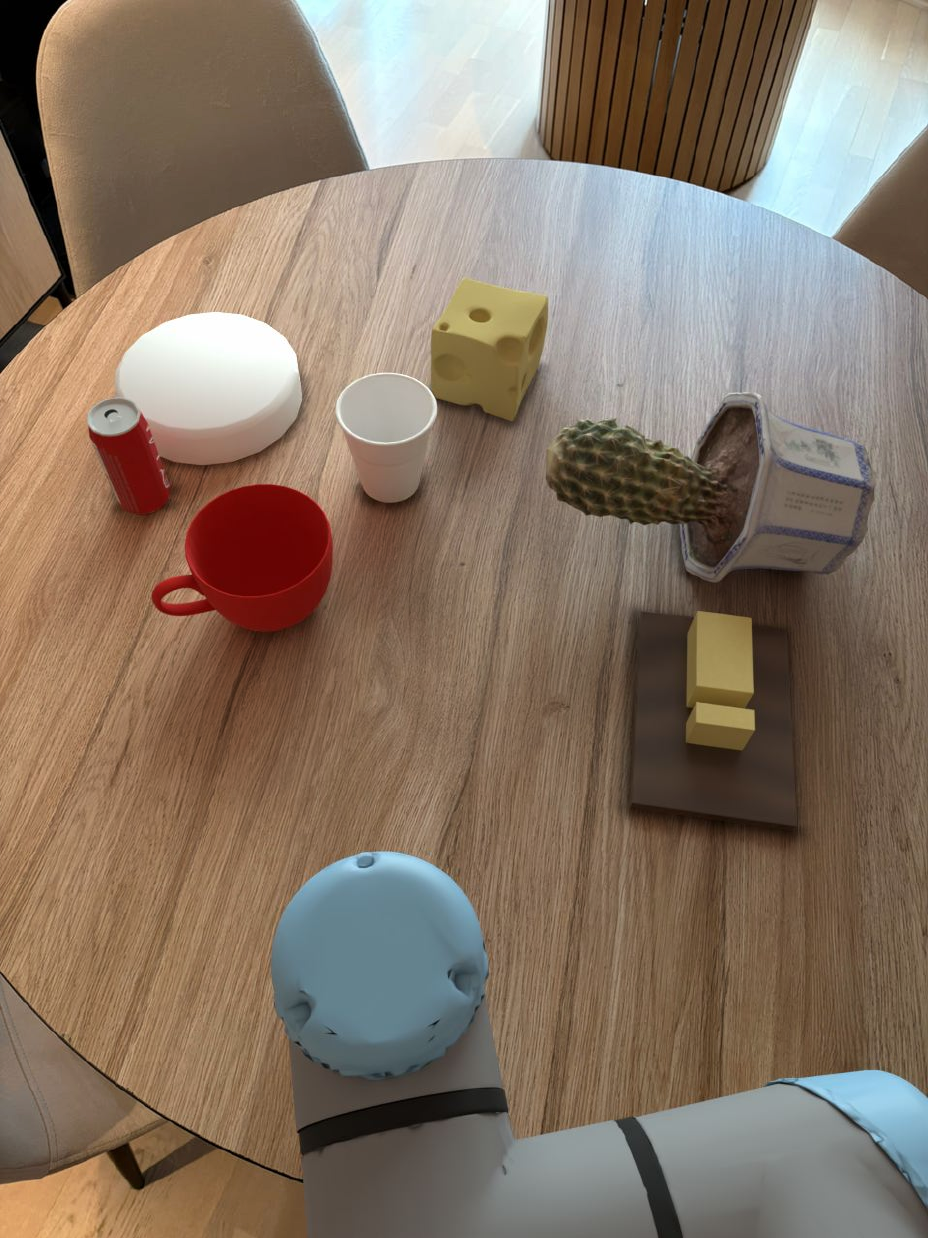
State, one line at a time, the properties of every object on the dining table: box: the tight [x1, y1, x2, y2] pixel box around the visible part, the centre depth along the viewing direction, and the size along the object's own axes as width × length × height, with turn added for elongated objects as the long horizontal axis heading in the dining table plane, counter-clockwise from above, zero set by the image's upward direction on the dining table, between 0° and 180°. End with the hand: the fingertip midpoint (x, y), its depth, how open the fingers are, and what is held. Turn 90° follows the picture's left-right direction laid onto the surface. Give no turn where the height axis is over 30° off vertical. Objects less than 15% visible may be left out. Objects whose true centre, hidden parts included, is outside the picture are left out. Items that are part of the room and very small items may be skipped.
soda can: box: [86, 396, 172, 515], centre depth 95 cm, size 6×6×12 cm
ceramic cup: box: [151, 483, 334, 632], centre depth 88 cm, size 13×17×10 cm
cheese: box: [430, 276, 549, 422], centre depth 106 cm, size 10×11×10 cm
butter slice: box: [686, 702, 755, 750], centre depth 83 cm, size 2×5×4 cm, turn 82°
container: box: [113, 311, 303, 466], centre depth 106 cm, size 20×20×5 cm
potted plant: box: [545, 391, 877, 583], centre depth 90 cm, size 18×18×30 cm
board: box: [629, 610, 798, 832], centre depth 87 cm, size 20×14×1 cm
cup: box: [334, 372, 438, 504], centre depth 97 cm, size 10×10×11 cm
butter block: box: [686, 610, 754, 709], centre depth 87 cm, size 8×5×4 cm, turn 172°
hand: (404, 1081), depth 63 cm, fingers open, 13 cm apart
